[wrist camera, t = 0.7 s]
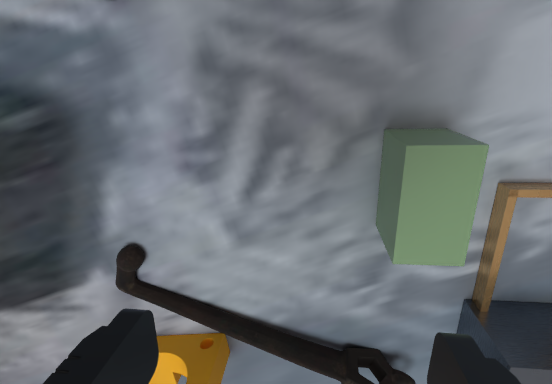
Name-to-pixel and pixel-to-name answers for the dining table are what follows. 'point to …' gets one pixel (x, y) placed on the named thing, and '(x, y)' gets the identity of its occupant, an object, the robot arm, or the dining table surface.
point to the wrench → (260, 331)
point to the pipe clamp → (191, 358)
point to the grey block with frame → (509, 315)
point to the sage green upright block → (428, 195)
